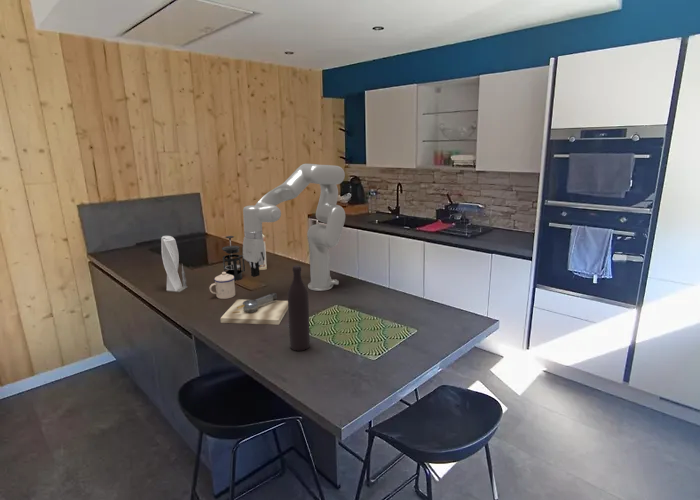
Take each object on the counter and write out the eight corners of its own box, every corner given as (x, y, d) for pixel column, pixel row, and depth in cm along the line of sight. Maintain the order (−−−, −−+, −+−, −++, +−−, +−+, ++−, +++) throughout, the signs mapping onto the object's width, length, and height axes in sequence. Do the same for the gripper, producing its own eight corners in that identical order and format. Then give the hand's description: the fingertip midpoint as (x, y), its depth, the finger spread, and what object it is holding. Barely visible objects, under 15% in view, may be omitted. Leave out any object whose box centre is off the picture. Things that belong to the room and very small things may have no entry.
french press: (226, 282, 212) (222, 239, 206) (220, 277, 220) (216, 236, 214) (248, 278, 219) (245, 236, 213) (241, 273, 226) (238, 233, 220)
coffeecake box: (267, 269, 233) (265, 236, 228) (254, 271, 231) (252, 237, 226) (262, 262, 247) (260, 230, 242) (250, 263, 244) (248, 231, 239)
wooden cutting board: (290, 305, 183) (289, 299, 183) (279, 324, 164) (278, 318, 164) (237, 303, 185) (237, 297, 185) (220, 322, 166) (220, 316, 165)
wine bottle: (310, 341, 150) (307, 263, 143) (309, 351, 144) (306, 269, 136) (291, 341, 150) (287, 263, 142) (289, 351, 143) (285, 269, 135)
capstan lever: (242, 315, 166) (241, 308, 165) (233, 311, 169) (233, 305, 169) (280, 300, 181) (280, 294, 180) (271, 297, 184) (271, 291, 184)
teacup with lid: (230, 290, 201) (228, 268, 198) (239, 296, 194) (237, 272, 191) (206, 296, 194) (204, 273, 190) (214, 302, 187) (212, 278, 184)
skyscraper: (177, 293, 198) (170, 236, 191) (162, 292, 200) (155, 236, 192) (187, 287, 206) (181, 232, 199) (173, 286, 208) (166, 232, 200)
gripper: (235, 233, 177) (237, 274, 181) (257, 239, 168) (259, 281, 172) (249, 231, 182) (251, 270, 187) (271, 236, 173) (273, 277, 178)
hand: (255, 275), depth 180 cm, fingers closed
